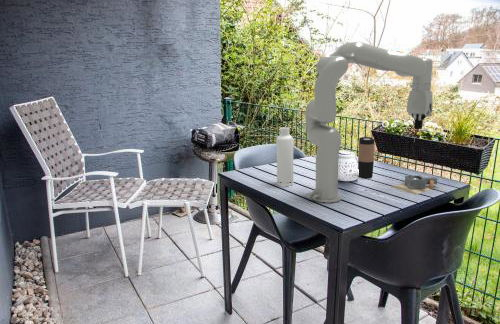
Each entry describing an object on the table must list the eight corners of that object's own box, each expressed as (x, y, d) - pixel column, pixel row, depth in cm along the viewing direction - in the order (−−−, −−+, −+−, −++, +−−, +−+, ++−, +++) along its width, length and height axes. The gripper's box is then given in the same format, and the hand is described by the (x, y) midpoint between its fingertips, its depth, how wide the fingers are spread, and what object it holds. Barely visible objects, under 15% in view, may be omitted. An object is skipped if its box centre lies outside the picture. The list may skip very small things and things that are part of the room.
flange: (409, 189, 172) (410, 180, 171) (404, 184, 179) (405, 175, 178) (438, 188, 171) (439, 179, 170) (432, 184, 178) (433, 175, 177)
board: (415, 197, 166) (415, 194, 165) (390, 189, 176) (390, 187, 176) (436, 190, 173) (436, 187, 173) (410, 183, 184) (411, 181, 184)
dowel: (431, 189, 171) (432, 181, 171) (428, 188, 173) (429, 180, 172) (433, 188, 172) (434, 181, 171) (430, 187, 174) (431, 180, 173)
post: (415, 187, 174) (415, 179, 173) (409, 186, 176) (410, 178, 175) (419, 186, 175) (420, 178, 174) (413, 185, 178) (414, 176, 177)
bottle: (292, 187, 185) (292, 129, 178) (275, 186, 186) (274, 129, 179) (294, 182, 192) (293, 126, 185) (278, 181, 194) (277, 126, 187)
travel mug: (355, 177, 196) (357, 139, 191) (359, 174, 202) (360, 136, 197) (371, 179, 192) (373, 140, 187) (374, 175, 199) (376, 137, 194)
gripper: (401, 87, 174) (398, 127, 178) (431, 88, 161) (428, 131, 166) (411, 86, 177) (409, 126, 182) (442, 87, 165) (438, 129, 170)
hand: (418, 128), depth 174 cm, fingers closed
